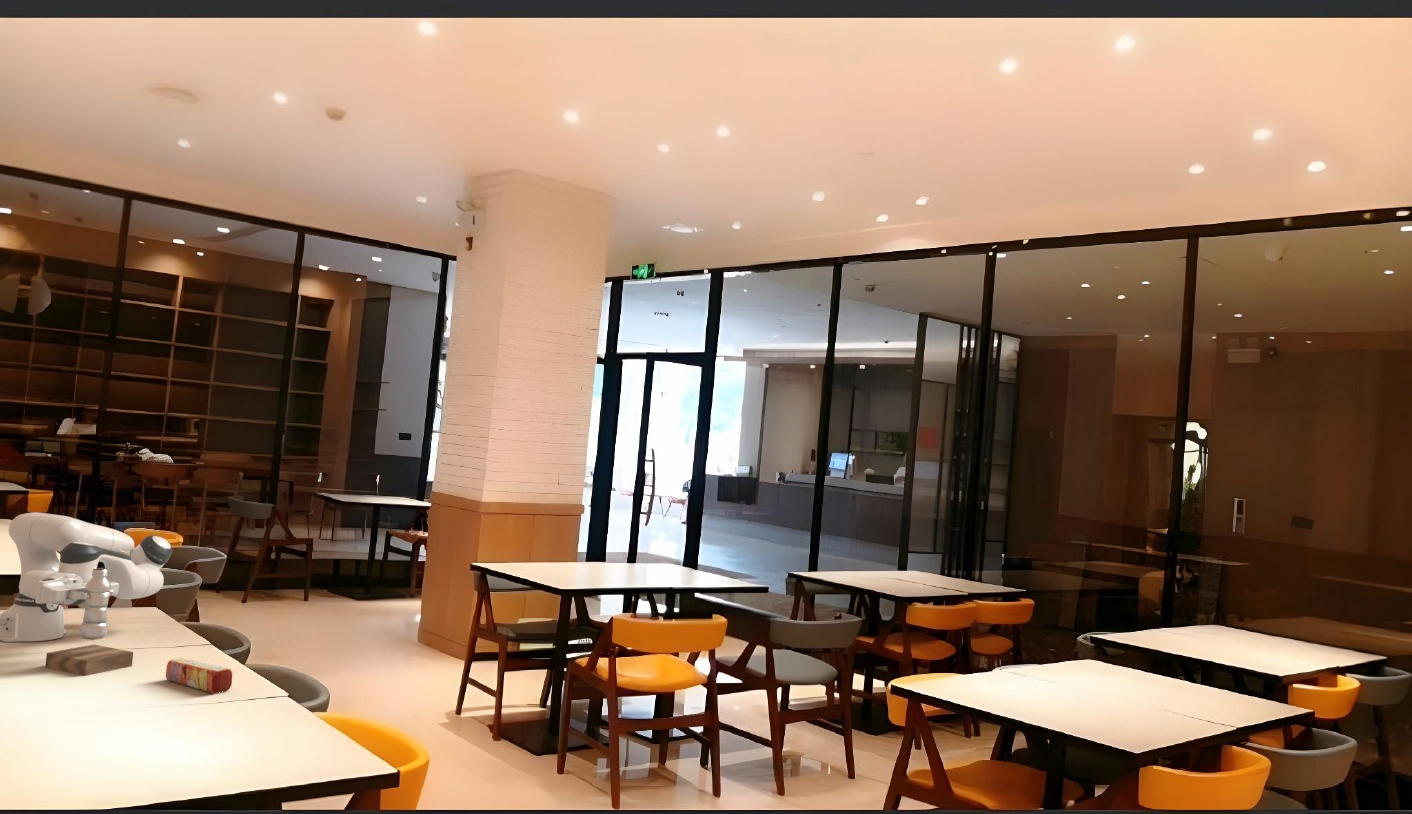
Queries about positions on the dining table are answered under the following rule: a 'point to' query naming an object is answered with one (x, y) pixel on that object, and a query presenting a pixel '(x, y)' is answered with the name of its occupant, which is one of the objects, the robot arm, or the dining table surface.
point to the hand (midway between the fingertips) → (99, 594)
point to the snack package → (199, 675)
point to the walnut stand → (89, 659)
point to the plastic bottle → (96, 606)
